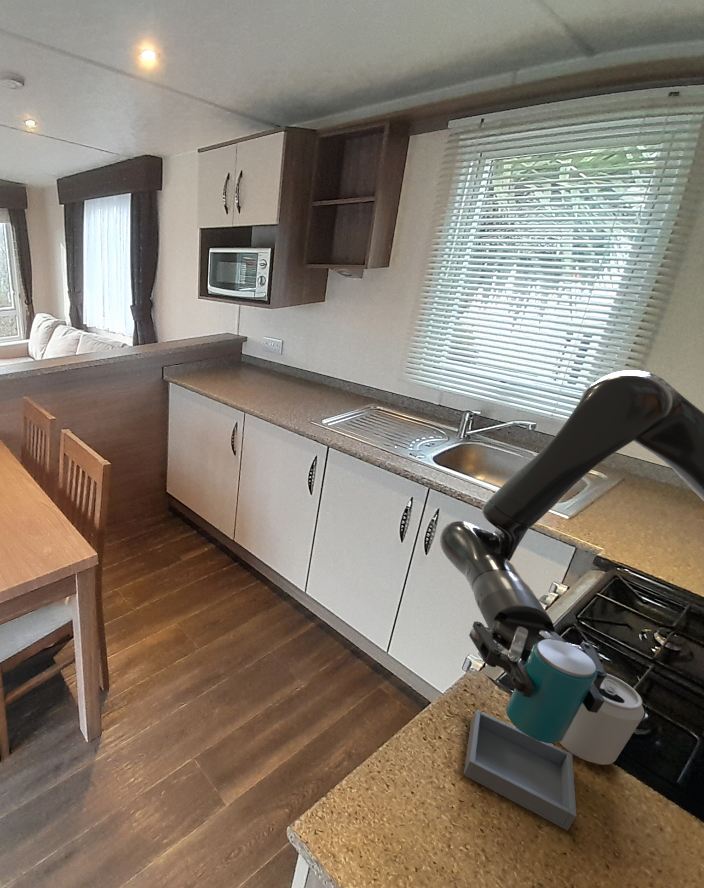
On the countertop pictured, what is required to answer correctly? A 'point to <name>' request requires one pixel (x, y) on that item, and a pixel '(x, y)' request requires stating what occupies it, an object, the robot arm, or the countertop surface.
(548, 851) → the countertop surface
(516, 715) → the slim can
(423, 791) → the countertop surface
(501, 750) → the gray rectangular tray
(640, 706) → the can
